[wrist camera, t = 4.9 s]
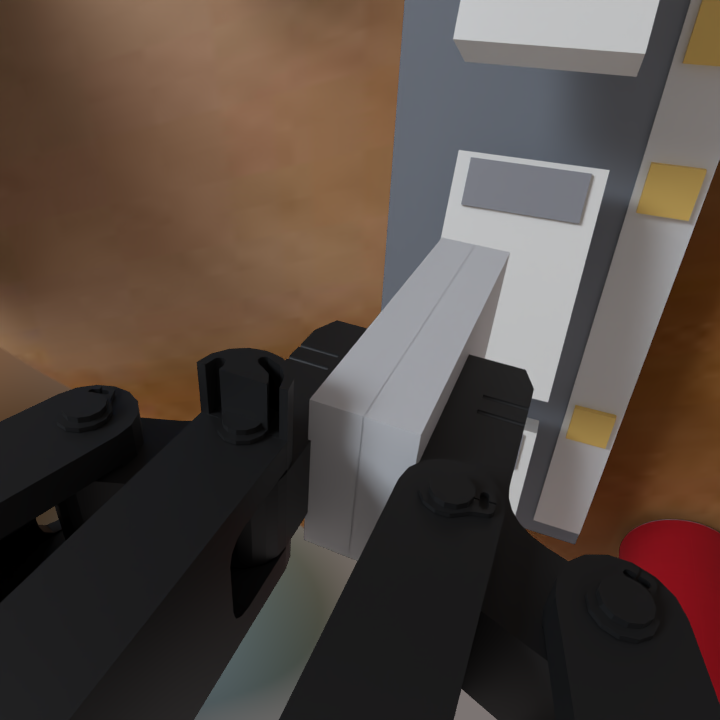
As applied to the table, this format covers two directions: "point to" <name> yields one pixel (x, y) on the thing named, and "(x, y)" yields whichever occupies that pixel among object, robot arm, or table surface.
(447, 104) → the switch unit
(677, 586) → the beverage can
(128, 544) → the robot arm
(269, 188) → the table surface
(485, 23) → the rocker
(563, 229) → the block
